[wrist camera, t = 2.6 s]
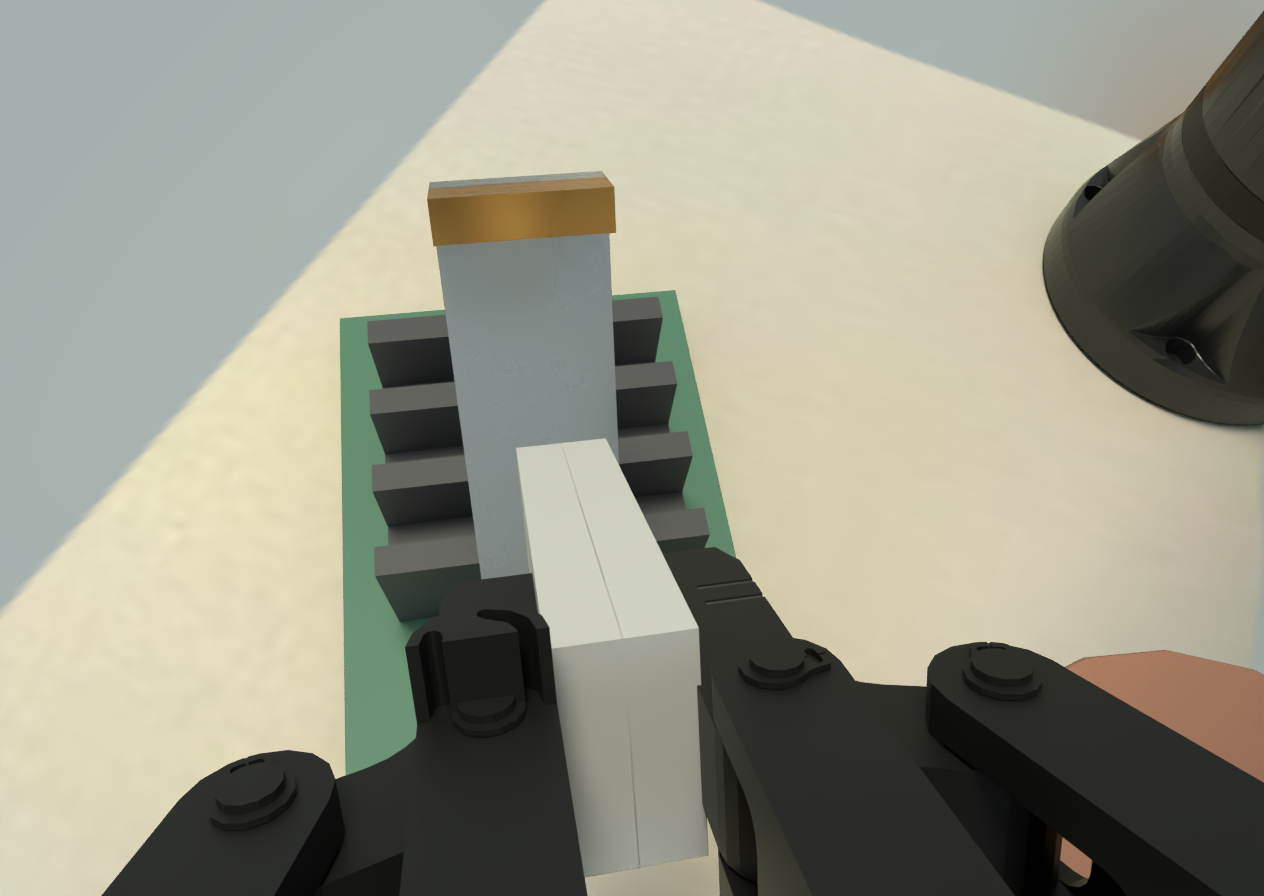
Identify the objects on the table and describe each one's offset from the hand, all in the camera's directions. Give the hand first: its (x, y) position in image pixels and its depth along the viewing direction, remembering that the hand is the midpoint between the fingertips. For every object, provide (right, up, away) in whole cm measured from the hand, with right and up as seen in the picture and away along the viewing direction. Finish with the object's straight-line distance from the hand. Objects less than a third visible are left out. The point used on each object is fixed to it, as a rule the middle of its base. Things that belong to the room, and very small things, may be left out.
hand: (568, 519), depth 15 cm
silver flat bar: (-1, +1, +9) cm, 9 cm away
